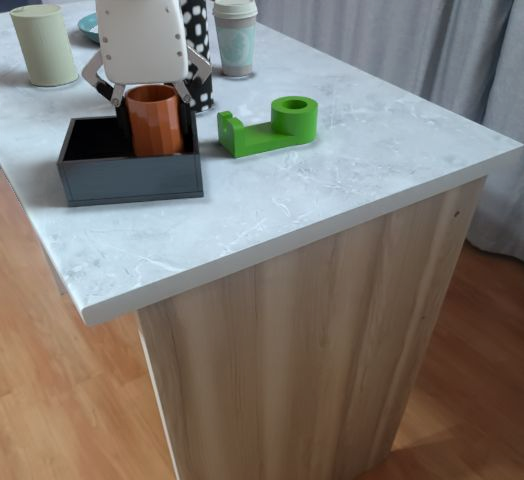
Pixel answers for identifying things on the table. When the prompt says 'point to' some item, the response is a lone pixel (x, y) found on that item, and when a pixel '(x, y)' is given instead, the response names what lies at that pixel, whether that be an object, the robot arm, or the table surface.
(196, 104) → the white-spotted black cylinder
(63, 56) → the can
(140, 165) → the dark grey storage bin
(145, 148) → the cup
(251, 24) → the coffee cup
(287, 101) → the tape dispenser
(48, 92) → the table surface
